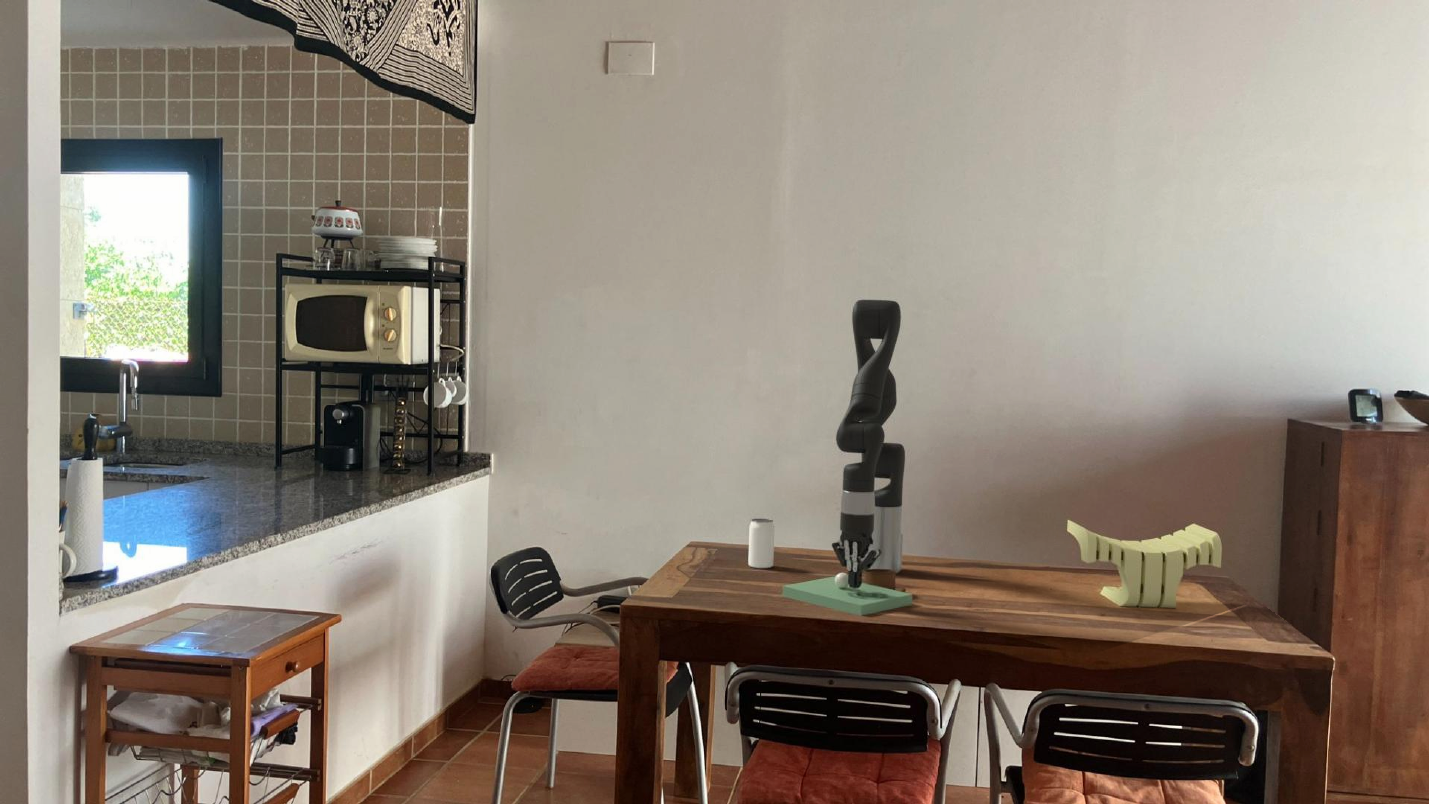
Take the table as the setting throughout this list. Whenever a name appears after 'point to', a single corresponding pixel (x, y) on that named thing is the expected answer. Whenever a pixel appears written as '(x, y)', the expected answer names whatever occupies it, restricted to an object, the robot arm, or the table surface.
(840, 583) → the ball
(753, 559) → the can
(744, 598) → the table surface
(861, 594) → the green
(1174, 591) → the slatted curved stool
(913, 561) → the table surface
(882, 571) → the brown cylindrical stub
